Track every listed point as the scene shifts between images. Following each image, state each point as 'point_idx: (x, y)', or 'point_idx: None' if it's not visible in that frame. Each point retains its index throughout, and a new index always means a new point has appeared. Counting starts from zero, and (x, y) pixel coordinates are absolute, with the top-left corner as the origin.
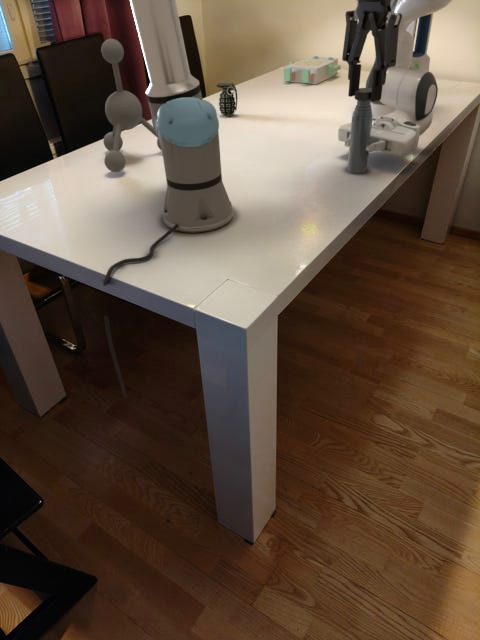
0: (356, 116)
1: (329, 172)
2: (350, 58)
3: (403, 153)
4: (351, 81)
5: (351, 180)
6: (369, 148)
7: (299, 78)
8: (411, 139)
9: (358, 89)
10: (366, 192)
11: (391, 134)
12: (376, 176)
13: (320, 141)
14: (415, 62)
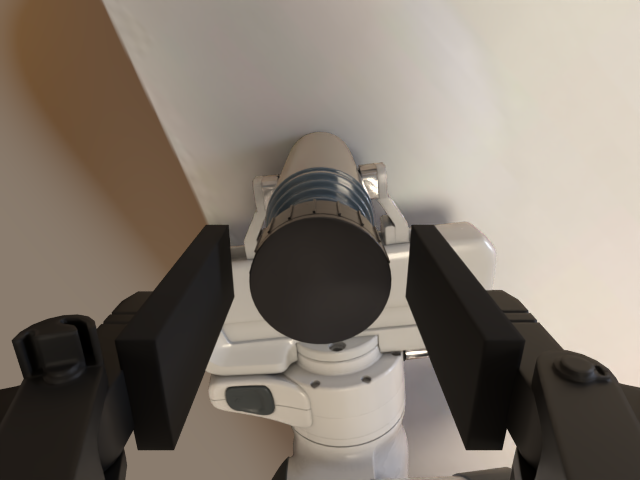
0: (317, 174)
1: (375, 77)
2: (595, 404)
3: None
4: (444, 267)
5: (267, 79)
6: (258, 178)
7: None
8: None
9: (371, 268)
10: (155, 33)
11: None
12: (237, 169)
13: (596, 278)
14: None
